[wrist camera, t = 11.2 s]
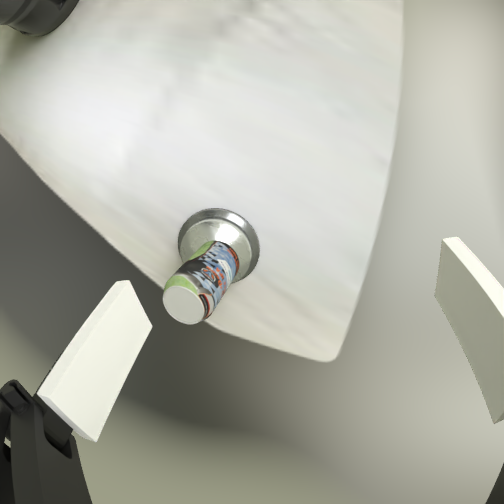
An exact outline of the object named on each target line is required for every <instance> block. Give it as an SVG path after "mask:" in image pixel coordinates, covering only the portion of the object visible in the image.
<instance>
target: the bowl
mask: <svg viewBox="0 0 504 504" xmlns="http://www.w3.org/2000/svg"><path fill="white" fill-rule="evenodd" d="M215 240H216V241H221V242H224V243H226V244H228V245H229V246H230V247H232V248H233V249H234V251H235V252H236V254H237V256H238V258H239V270H238V272H237V274H236V276H235V277H234V279H233V280H232V282H231V284H232V283H234V282H237V281H239V280H241V279H243V278H245V277H246V276H248V275H249V274H250V273H251V272H252V271H253V269H254V268H255V266H256V264H257V262H258V258H259V252H260V245H259V240H258V237H257V234H256V232H255V230H254V229H253V228H252V226H251V225H250V224H249V223H248V222H247V221H246V220H245V219H244V218H243V217H241V216H240V215H238V214H236V213H234V212H232V211H229V210H225V209H219V208H211V209H205V210H202V211H199V212H197V213H195V214H194V215H192V216H191V217H190V218H189V219H188V220H187V221H186V222H185V223H184V225H183V226H182V228H181V230H180V233H179V237H178V248H179V252H180V255H181V258H182V261H183V263H185V262H186V261H187V260H188V259H189V258H190V257H191V256H192V255H193V254H194V253H195V252H196V251H197V250H198V249H199V248H200V247H201V246H202V245H203V244H204V243H206V242H208V241H215Z"/></svg>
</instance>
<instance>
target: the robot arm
mask: <svg viewBox="0 0 504 504" xmlns="http://www.w3.org/2000/svg"><path fill="white" fill-rule="evenodd" d="M77 2H78V0H0V25H8V26H10V27H12V28H14V29H16V30H18V31H20V32H21V33H22V34H24V35H28V36H42V35H45V34H47V33H49V32H51V31H52V30H54V29H55V28H56V27H58V26H59V25H60V24H61V23H62V22H63V21H64V20H65V19H66V18H67V16H68V15H69V14H70V13H71V11H72V10H73V9H74V7H75V5H76V4H77ZM435 298H436V299H437V301H438V303H439V304H440V306H441V308H442V310H443V312H444V314H445V315H446V317H447V319H448V321H449V323H450V325H451V327H452V328H453V330H454V332H455V334H456V336H457V338H458V340H459V342H460V344H461V346H462V348H463V350H464V352H465V354H466V357H467V359H468V361H469V363H470V365H471V368H472V370H473V372H474V374H475V377H476V379H477V381H478V384H479V386H480V388H481V391H482V394H483V396H484V399H485V401H486V404H487V407H488V409H489V412H490V415H491V418H492V421H493V423H494V424H495V423H497V422H499V421H502V420H503V419H504V289H503V288H502V286H501V285H500V284H499V283H498V281H497V280H496V279H495V278H494V277H493V275H492V274H491V273H490V272H489V271H488V270H487V268H486V267H485V266H484V265H483V264H482V263H481V262H480V260H479V259H478V258H477V257H476V256H475V255H474V254H473V253H472V252H471V251H470V250H469V249H468V247H466V245H465V244H464V243H463V242H462V241H461V240H460V239H459V238H458V237H453V238H447V239H442V244H441V254H440V262H439V270H438V277H437V283H436V289H435ZM151 328H152V325H151V323H150V321H149V319H148V317H147V315H146V313H145V311H144V309H143V308H142V306H141V304H140V302H139V300H138V298H137V296H136V293H135V291H134V289H133V287H132V285H131V283H130V281H129V280H125V281H117V282H116V283H115V284H114V285H113V286H112V288H111V289H110V290H109V291H108V293H107V294H106V295H105V296H104V298H103V299H102V300H101V302H100V303H99V304H98V306H97V307H96V308H95V310H94V311H93V312H92V314H91V315H90V316H89V318H88V319H87V320H86V321H85V323H84V324H83V326H82V327H81V328H80V330H79V331H78V332H77V334H76V335H75V337H74V338H73V340H72V341H71V342H70V344H69V345H68V347H67V348H66V349H65V350H64V351H63V352H62V353H61V354H60V356H59V357H58V359H57V360H56V361H57V362H55V363H54V365H53V366H52V370H50V371H49V372H48V374H47V375H46V377H45V378H44V380H43V382H42V383H41V385H40V386H39V388H38V389H37V391H36V393H35V394H34V396H33V397H31V395H30V394H29V393H28V392H27V391H26V390H25V389H24V387H23V386H22V385H21V384H20V383H19V382H18V381H17V380H11V381H8V382H7V383H6V384H5V385H4V386H3V387H2V388H1V389H0V504H92V501H91V498H90V495H89V492H88V489H87V485H86V481H85V478H84V474H83V470H82V467H81V463H80V458H79V454H78V449H77V445H76V440H75V438H74V436H73V435H71V433H72V431H73V430H74V431H75V432H77V433H78V434H79V435H80V436H81V437H82V438H86V439H88V440H91V441H94V442H96V441H97V440H98V437H99V435H100V433H101V430H102V428H103V426H104V424H105V422H106V419H107V417H108V415H109V413H110V411H111V409H112V407H113V404H114V402H115V400H116V398H117V396H118V394H119V392H120V390H121V388H122V386H123V384H124V381H125V379H126V377H127V375H128V373H129V371H130V369H131V367H132V365H133V363H134V361H135V359H136V357H137V355H138V353H139V351H140V350H141V347H142V346H143V343H144V342H145V340H146V338H147V336H148V334H149V332H150V330H151ZM5 437H6V438H7V439H8V440H9V441H11V448H10V447H9V446H7V445H6V444H5V443H4V441H5ZM486 504H504V464H503V466H502V469H501V472H500V474H499V476H498V478H497V481H496V483H495V485H494V487H493V489H492V491H491V494H490V496H489V498H488V500H487V502H486Z"/></svg>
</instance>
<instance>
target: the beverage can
mask: <svg viewBox="0 0 504 504" xmlns="http://www.w3.org/2000/svg"><path fill="white" fill-rule="evenodd" d="M238 270H239V258H238V256H237V254H236V252H235V251H234V249H233V248H232V247H230V246H229V245H228V244H226V243H224V242H221V241H216V240H215V241H208V242H206V243H204V244H203V245H202V246H201V247H200V248H199V249H198V250H197V251H196V252H195V253H194V254H193V255H192V256H191V257H190V258H189V259H188V260H187V261H186V262H185V263H184V264H183V265H182V266H181V267H180V268H179V269H178V270H177V271H176V273H175V274H174V275H173V276H172V277H171V278H170V279H169V280H168V281H167V283H166V285H165V288H164V295H163V303H164V306H165V308H166V310H167V311H168V313H169V314H170V315H171V316H172V317H173V318H175V319H176V320H178V321H180V322H182V323H185V324H196V323H198V322H199V321H203V320H205V319H207V318H208V317H209V316H210V315H211V314H212V312H213V311H214V309H215V308H216V306H217V304H218V303H219V301H220V300H221V298H222V296H223V295H224V293H225V292H226V290H227V288H228V287H229V285H230V284H231V282H232V280H233V279H234V277H235V276H236V274H237V272H238Z"/></svg>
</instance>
